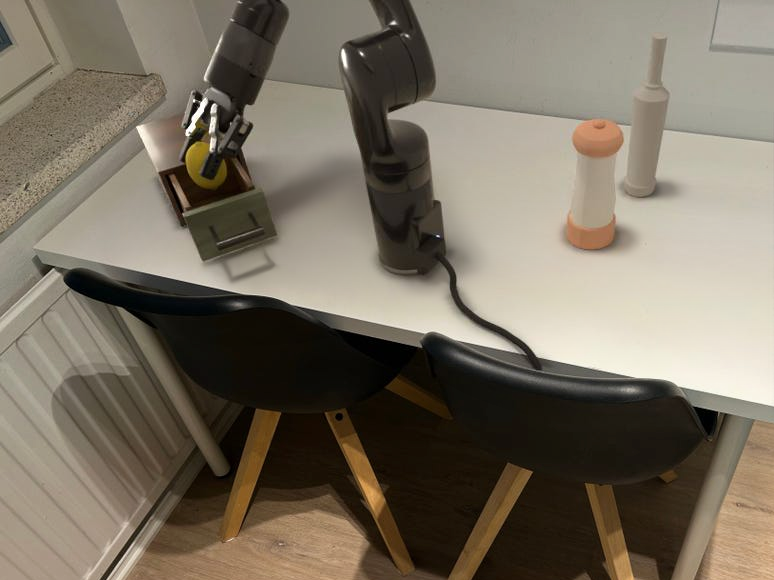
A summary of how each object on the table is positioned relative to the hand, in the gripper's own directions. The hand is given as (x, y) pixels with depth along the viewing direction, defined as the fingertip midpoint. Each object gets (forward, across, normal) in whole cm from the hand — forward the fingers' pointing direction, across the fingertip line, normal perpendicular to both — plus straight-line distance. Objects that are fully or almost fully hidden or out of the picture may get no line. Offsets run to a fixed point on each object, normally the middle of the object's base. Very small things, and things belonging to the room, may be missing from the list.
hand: (195, 169), depth 107 cm
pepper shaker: (-19, +44, +36) cm, 60 cm away
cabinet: (+5, -13, +12) cm, 18 cm away
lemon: (+2, 0, +4) cm, 5 cm away
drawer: (+7, +3, +8) cm, 11 cm away
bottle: (-30, +42, +47) cm, 70 cm away
